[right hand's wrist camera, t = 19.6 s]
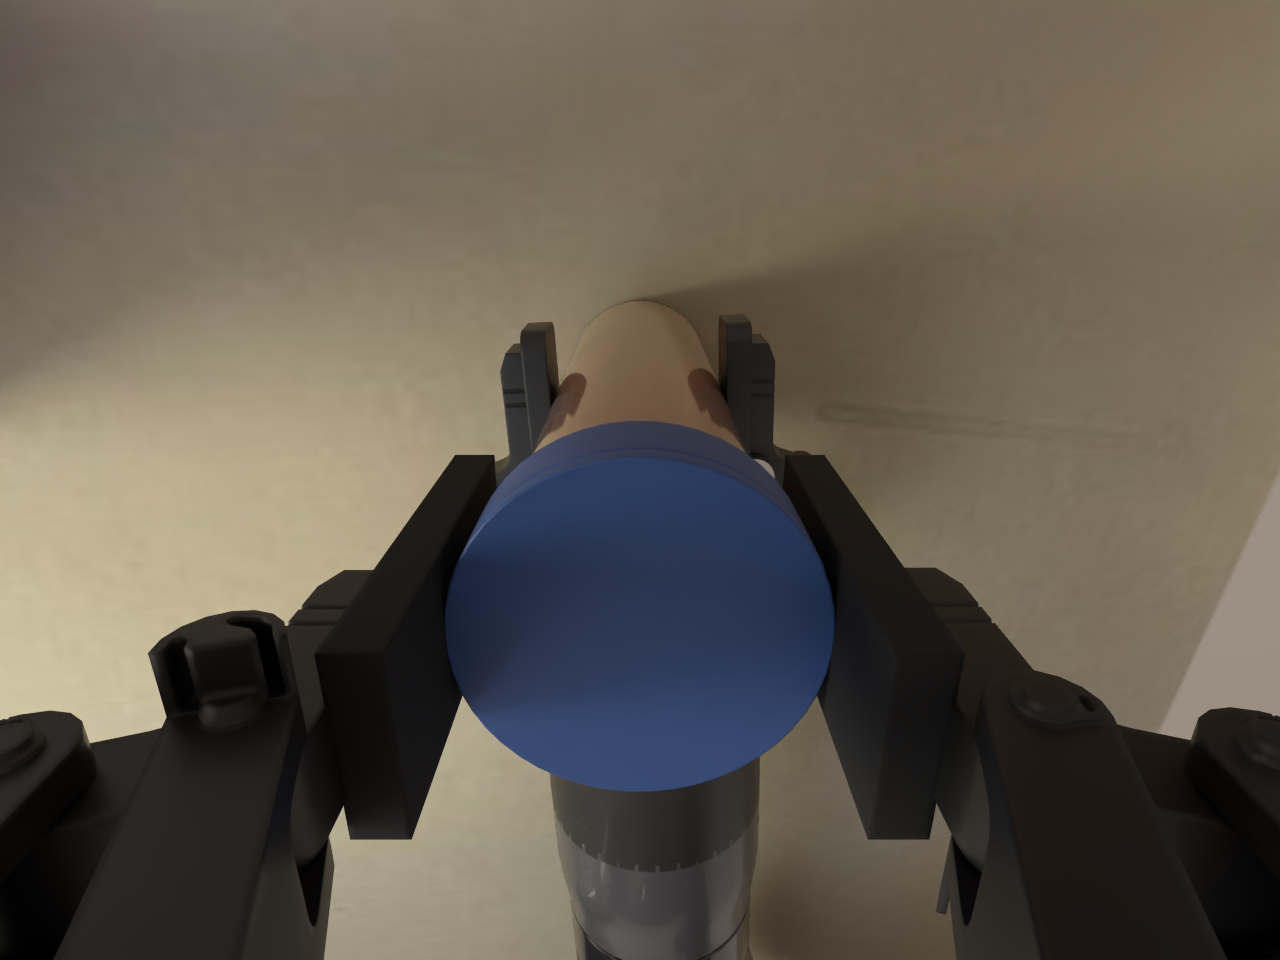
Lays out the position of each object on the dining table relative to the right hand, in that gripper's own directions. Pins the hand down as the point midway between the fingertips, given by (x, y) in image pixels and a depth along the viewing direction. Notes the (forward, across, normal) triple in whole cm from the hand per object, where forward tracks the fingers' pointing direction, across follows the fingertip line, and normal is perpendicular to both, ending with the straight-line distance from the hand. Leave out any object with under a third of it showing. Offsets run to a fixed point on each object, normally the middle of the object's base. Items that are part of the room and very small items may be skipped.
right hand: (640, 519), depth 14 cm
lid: (-4, 0, 0) cm, 4 cm away
